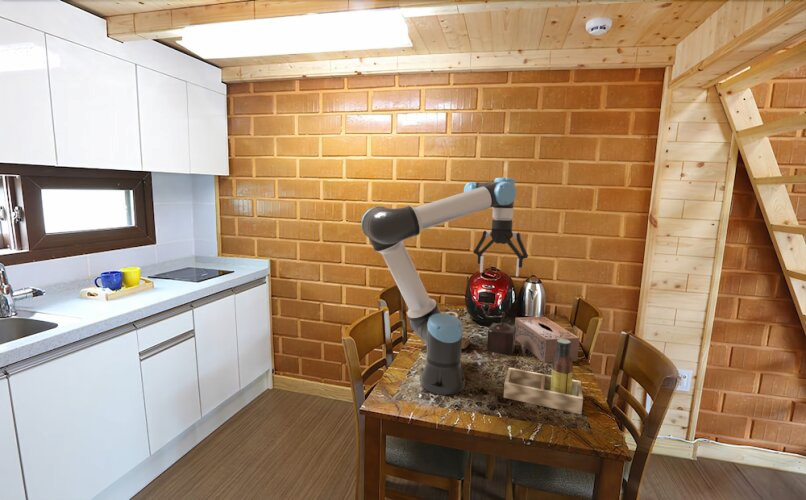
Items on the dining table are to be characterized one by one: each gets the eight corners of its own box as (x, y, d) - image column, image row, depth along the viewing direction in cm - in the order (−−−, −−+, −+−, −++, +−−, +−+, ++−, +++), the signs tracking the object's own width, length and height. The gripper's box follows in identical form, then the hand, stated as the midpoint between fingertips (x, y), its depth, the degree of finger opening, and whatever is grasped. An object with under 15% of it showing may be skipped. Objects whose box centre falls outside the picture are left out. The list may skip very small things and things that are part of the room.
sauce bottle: (565, 394, 124) (570, 336, 121) (574, 404, 118) (580, 344, 115) (545, 393, 124) (550, 336, 121) (554, 404, 118) (559, 344, 115)
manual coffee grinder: (515, 346, 163) (518, 306, 161) (511, 356, 153) (514, 313, 151) (480, 339, 170) (482, 301, 167) (474, 348, 160) (476, 308, 157)
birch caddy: (503, 397, 122) (504, 383, 121) (507, 380, 133) (508, 367, 132) (581, 414, 113) (582, 399, 113) (579, 395, 124) (580, 381, 124)
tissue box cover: (513, 338, 173) (515, 317, 171) (542, 337, 175) (544, 316, 174) (544, 363, 148) (546, 339, 146) (577, 361, 150) (579, 337, 149)
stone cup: (430, 349, 158) (431, 315, 156) (436, 339, 169) (437, 307, 167) (466, 354, 154) (468, 319, 151) (469, 343, 165) (471, 311, 163)
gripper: (537, 220, 141) (533, 275, 144) (471, 217, 150) (469, 269, 154) (536, 221, 134) (532, 279, 137) (467, 218, 143) (465, 272, 147)
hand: (498, 274), depth 146 cm, fingers open, 13 cm apart
